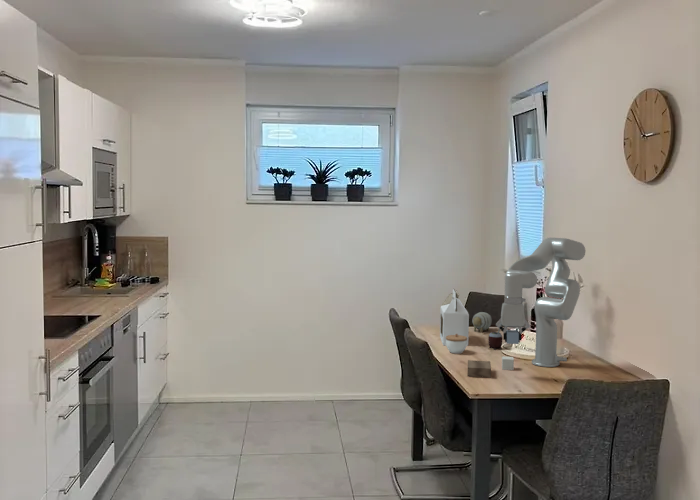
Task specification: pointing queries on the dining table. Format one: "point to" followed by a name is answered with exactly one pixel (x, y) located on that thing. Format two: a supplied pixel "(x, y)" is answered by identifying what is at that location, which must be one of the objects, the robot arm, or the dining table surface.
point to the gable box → (453, 318)
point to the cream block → (507, 363)
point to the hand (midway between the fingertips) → (512, 341)
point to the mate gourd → (495, 340)
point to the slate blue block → (512, 336)
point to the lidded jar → (456, 343)
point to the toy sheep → (481, 321)
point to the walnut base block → (479, 369)
